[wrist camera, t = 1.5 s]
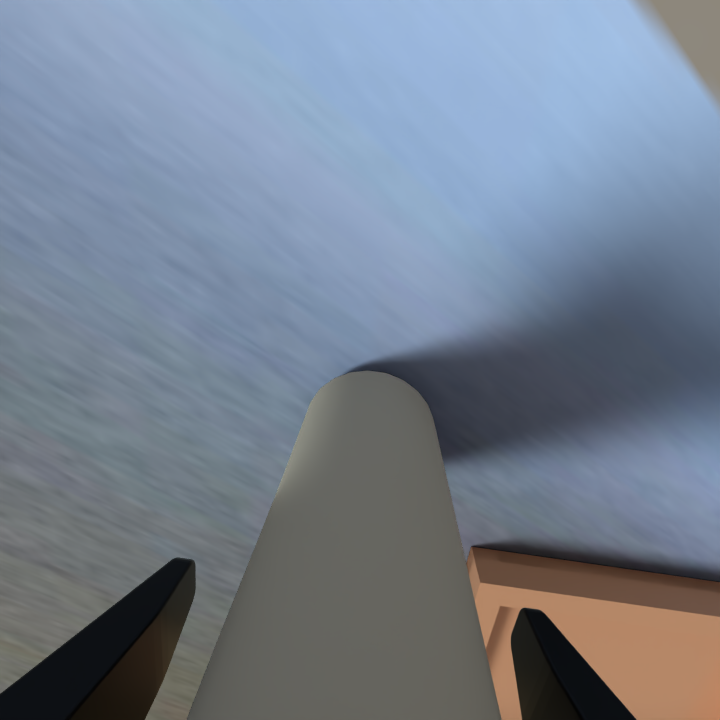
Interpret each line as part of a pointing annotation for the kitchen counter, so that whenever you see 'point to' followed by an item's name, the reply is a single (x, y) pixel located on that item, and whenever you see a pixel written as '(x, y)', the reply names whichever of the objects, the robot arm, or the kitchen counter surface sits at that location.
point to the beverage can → (355, 578)
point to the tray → (607, 629)
